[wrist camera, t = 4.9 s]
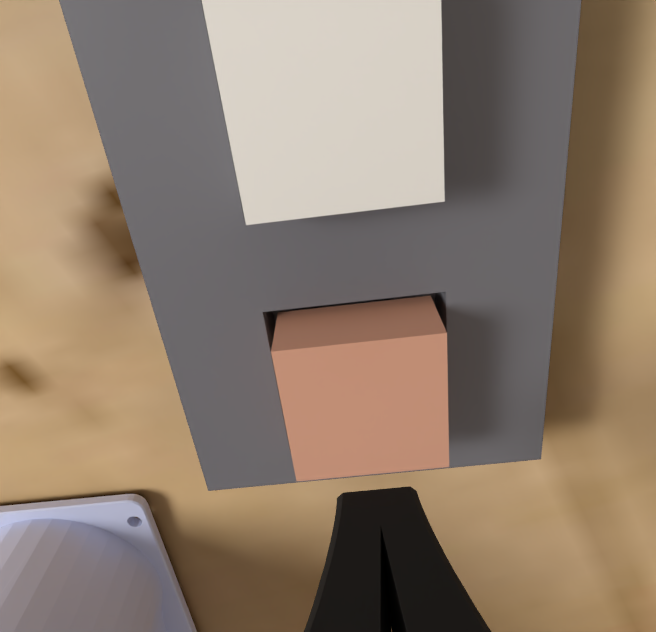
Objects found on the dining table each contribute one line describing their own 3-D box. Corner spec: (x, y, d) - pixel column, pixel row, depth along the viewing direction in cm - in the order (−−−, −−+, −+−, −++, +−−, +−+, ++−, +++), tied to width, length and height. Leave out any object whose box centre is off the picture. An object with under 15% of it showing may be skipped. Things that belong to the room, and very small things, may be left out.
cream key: (426, 179, 12) (444, 201, 10) (257, 200, 12) (246, 225, 10) (420, -24, 10) (440, -39, 8) (221, 4, 10) (200, -6, 9)
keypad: (518, 416, 17) (540, 459, 15) (220, 446, 18) (208, 490, 16) (586, -724, 8) (665, -957, 6) (-67, -592, 8) (-177, -775, 6)
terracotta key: (434, 418, 15) (449, 466, 13) (299, 431, 15) (296, 481, 14) (430, 295, 13) (446, 332, 12) (278, 312, 14) (271, 351, 12)
